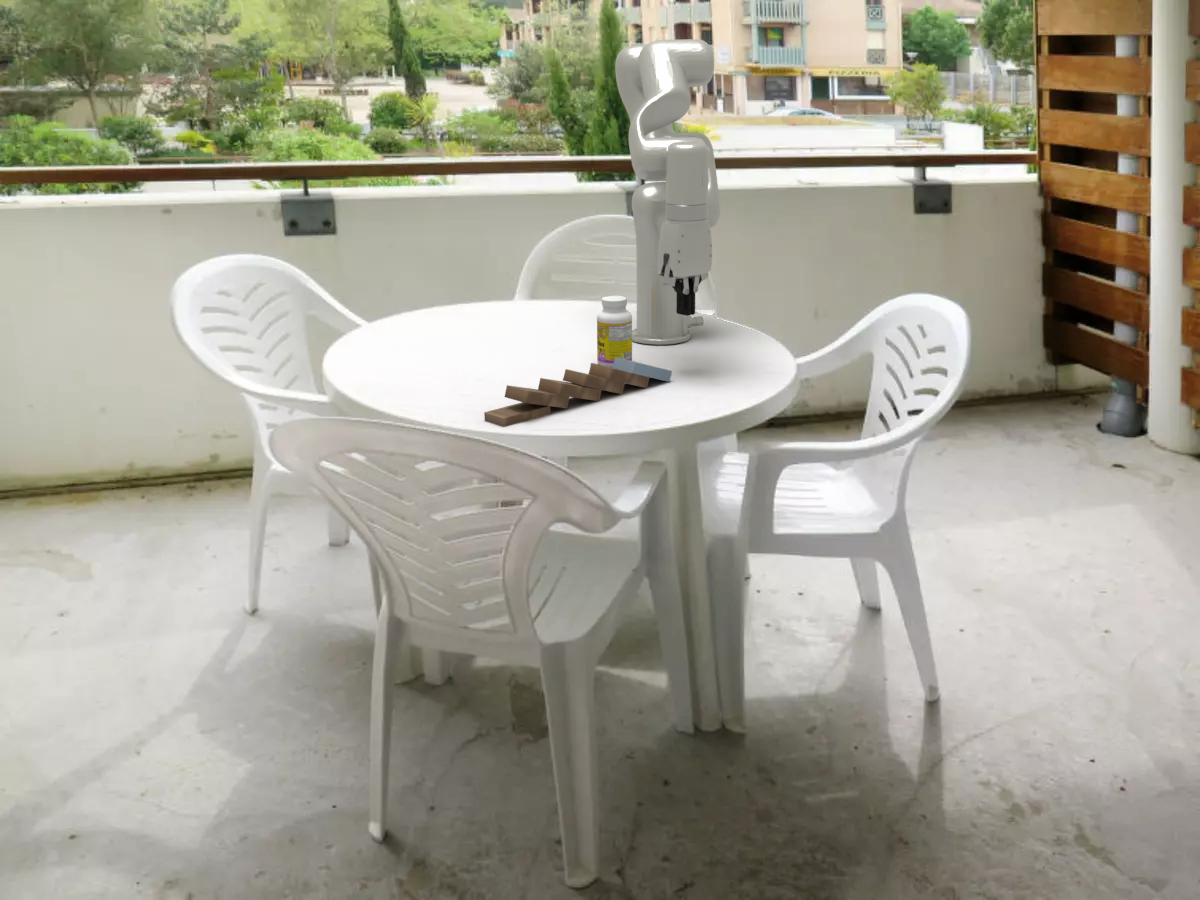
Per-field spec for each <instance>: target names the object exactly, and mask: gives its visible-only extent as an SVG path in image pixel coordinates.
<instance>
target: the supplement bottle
mask: <svg viewBox="0 0 1200 900" xmlns="http://www.w3.org/2000/svg"><path fill="white" fill-rule="evenodd" d="M627 299H628V298H627V297H625V296H622V295H609V296H603V297H602V298H601V305H602V310H600V311H599V312H598V313H597V315H596V339H597V340H596V349H597V351H596V352H597V353H596V355H597V356H596V358H597V359H596V360H597V364H598V365H602V366H606V367H611V368H613V365H614V361H615V357H617V358H621V359H625V360H629V361H633V341H632V330H633V316H632V313H631V311H629V310H627V304H628V301H627Z"/></svg>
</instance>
